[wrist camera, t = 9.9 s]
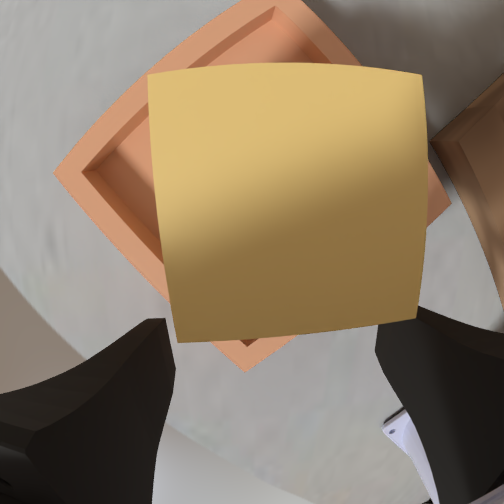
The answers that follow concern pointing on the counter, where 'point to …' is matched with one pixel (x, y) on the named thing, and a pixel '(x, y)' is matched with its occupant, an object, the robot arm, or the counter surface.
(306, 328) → the peg
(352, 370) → the counter surface
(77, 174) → the tray
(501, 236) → the socket block
